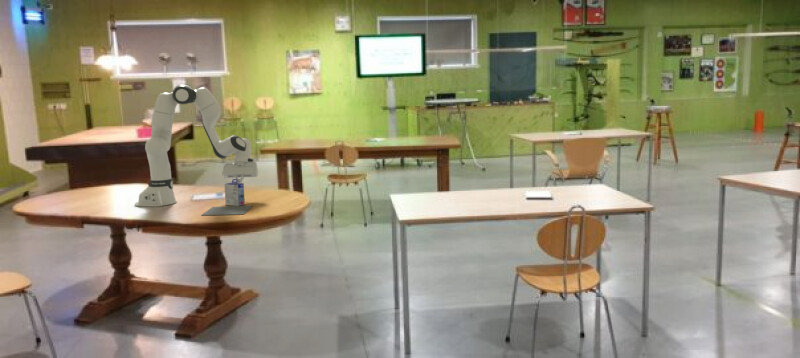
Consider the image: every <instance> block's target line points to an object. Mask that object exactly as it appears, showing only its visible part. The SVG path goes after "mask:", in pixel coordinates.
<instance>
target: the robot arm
mask: <svg viewBox="0 0 800 358" xmlns="http://www.w3.org/2000/svg"><path fill="white" fill-rule="evenodd" d="M179 104H180V105H188V104H195V106H196V107H197V109H198V110H199V113H201V116H202V121H201V124H202V127H203V129H204V131H205V133H206V136H207V138H208V141H209V142H210V144H211V147H212V152H213V154H214V155H215V157H217V158H218V159H222V160H224V159H226V158H228V157H229V156H231V155H233V154H234V161H233V162H231V163H226V164H224V165H223V168H222V172H221V173H222V174H221V175H222V177H223V178H225V179H228V178H229V179H238V181H237V183H243V180H245V178H257V177H258V175H259V170H258V163H257V161H256V159H255V158H252V157H251V155H252V143H251V141H250V140H249V139H248V138H246V137H244V138H243V137H242V138H241V137H239V136H238V135H236V134H234V135H231V136H229V137H226V138H225V139H223V140H221V139H220V137H219V135H218V133H217V130H216V127H215V124H216V123H217V121H218V119H220V117H221V114H222V108H221V106H220V104H219V102H218V101H217V99H216V98H215V97H214V95H213V94H212V93H211V91H210V90H209V89H208V88H207V87H198V88H196V89H194V88H192V86H190V85H189V84H187V83H180V84H177V85H176V86H175V87H174V88H173V90H172V91H171V92H161V93H159V94H158V95H157V98H156V101H155V103H154V108H153V113H152V118H151V135H150V137H149V139H147V140H146V141H145V146H144V149H145V152H146V156H147V157H146V158H147V160H148V161H147V162H148V165H149V172H150V173H149V175H150V179H149V180H148V181H147V182H146V184H147V185H148V186H147V187H145V189H144V190H142V191H141V192H140V193H139V195H138V201H137V202H135V203H134V207H163V206H167V205H168V206H169V205H174V204H176V203H177V200H176V197H175V194H174V193H175V192H174V181H173V178H172V171H171V163H170V160H169V156H168V151H170V148H171V147H172V146H171V145H172V144H171V143H172V133H173V132H172V131H173V124H174V119H175V112H176V108H177V106H178V105H179Z"/></svg>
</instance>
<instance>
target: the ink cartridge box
mask: <svg viewBox="0 0 800 358" xmlns="http://www.w3.org/2000/svg"><path fill="white" fill-rule="evenodd" d="M238 179H239V178H238ZM238 179H235V178H232V180H231V182H226V183H224V199H225V201H224V202H225V206H246V205H245V204H246V202H245V186H244V185H245V184H244V183H243V182H242V183H237V181H238Z"/></svg>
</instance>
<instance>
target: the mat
mask: <svg viewBox="0 0 800 358" xmlns="http://www.w3.org/2000/svg"><path fill="white" fill-rule="evenodd" d="M252 208H253V205H241V206H233V205H225V206H212V207H211V208H209V209H208V210H207V211H204V213H202V214H201V217H203V216H205V217H206V216H207V217H208V216H243V215H245V214H246V213H247V212H249V210H251V209H252Z"/></svg>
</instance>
